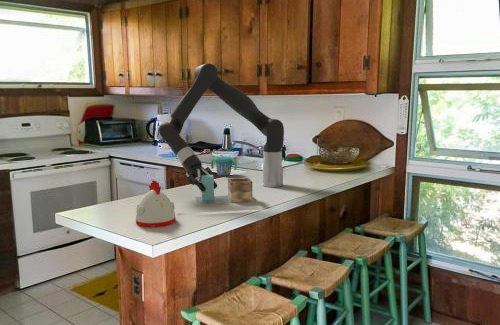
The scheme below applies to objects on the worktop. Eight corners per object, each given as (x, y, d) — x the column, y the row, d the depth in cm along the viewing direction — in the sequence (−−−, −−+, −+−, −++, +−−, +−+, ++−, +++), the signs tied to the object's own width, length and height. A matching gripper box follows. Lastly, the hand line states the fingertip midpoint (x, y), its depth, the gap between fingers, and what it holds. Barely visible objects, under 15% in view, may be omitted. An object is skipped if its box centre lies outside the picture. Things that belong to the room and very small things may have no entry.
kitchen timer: (145, 230, 146) (143, 186, 144) (130, 221, 157) (128, 180, 155) (182, 223, 154) (181, 181, 152) (165, 214, 165) (164, 175, 163)
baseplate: (249, 196, 194) (249, 194, 194) (255, 204, 180) (255, 201, 180) (195, 199, 189) (195, 197, 189) (197, 207, 176) (197, 204, 176)
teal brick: (212, 197, 188) (212, 174, 187) (214, 200, 183) (213, 176, 182) (201, 198, 187) (200, 175, 186) (202, 200, 182) (201, 177, 181)
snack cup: (240, 174, 249) (240, 157, 248) (230, 177, 240) (230, 159, 239) (217, 172, 257) (217, 155, 255) (207, 175, 248) (207, 157, 246)
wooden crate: (248, 196, 190) (248, 177, 189) (252, 201, 181) (252, 181, 180) (228, 197, 188) (227, 178, 187) (231, 202, 180) (230, 182, 179)
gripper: (181, 156, 181) (204, 186, 176) (204, 152, 193) (225, 181, 188) (172, 167, 185) (194, 197, 180) (195, 163, 196) (216, 191, 192)
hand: (210, 189), depth 184 cm, fingers closed on teal brick, 7 cm apart
